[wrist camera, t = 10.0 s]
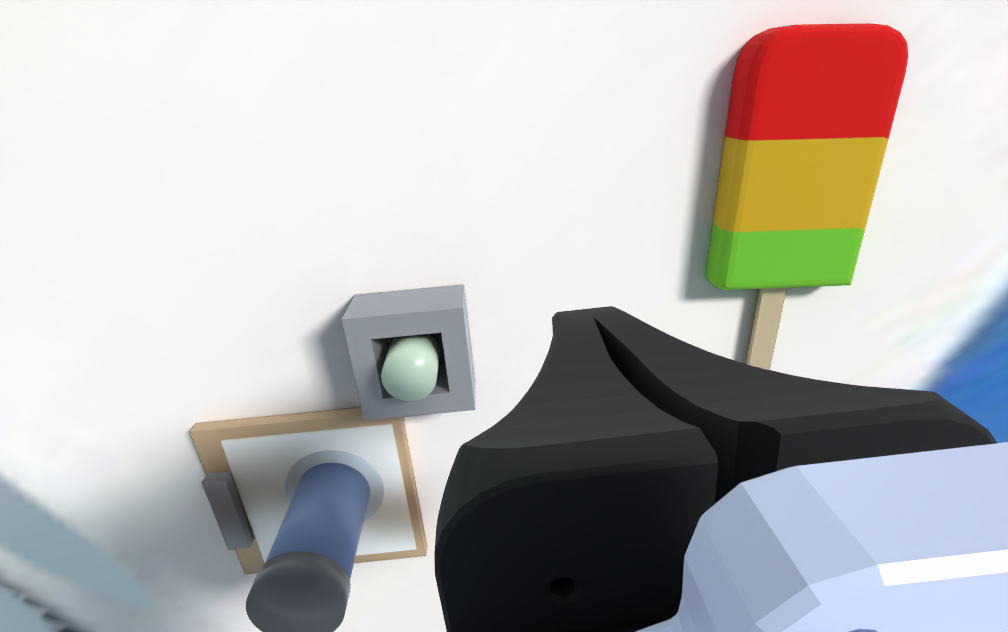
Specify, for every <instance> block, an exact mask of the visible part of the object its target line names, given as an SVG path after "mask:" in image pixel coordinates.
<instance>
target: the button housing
mask: <svg viewBox="0 0 1008 632" xmlns="http://www.w3.org/2000/svg"><path fill="white" fill-rule="evenodd" d="M341 320H342V324H343V329H344V333H345V338H346V342H347V347H348V351H349V356H350V360H351V364H352V369H353V373H354V378H355V382H356V387H357V391H358V396H359V400H360V405H361V409H362V414H363V418H364V420H375V419H385V418H395V417H405V416H416V415H426V414H436V413H447V412H457V411H467V410H475V374H474V366H473V357H472V349H471V341H470V332H469V324H468V315H467V307H466V298H465V290H464V285H454V286H444V287H433V288H422V289H412V290H401V291H390V292H379V293H369V294H358V295H354V297H353V299H352V301H351V303H350V304H349V306H348V308H347V310H346V312H345V314H344V316H343V317H342V319H341ZM431 333H441V334H442V341H443V348H444V355H445V362H446V363H443V364H438V372H437V380H436V385H435V387H434V389H433V391H432V392H431V393H430V394H429V395H428V396H426V397H424V398H422V399H420V400H416V401H404V400H400V399H397V398H395V397H393V396H392V395H391V394H389V393H388V392H387V391H386V389H385V388H384V386H383V384H382V380H381V373H382V369H383V366H384V363H385V359H386V356H387V353H388V347H387V342H386V338H389V337H400V336H410V335H421V334H431Z"/></svg>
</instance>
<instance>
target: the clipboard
mask: <svg viewBox="0 0 1008 632" xmlns="http://www.w3.org/2000/svg"><path fill="white" fill-rule="evenodd" d="M190 434H191V437H192V439H193V442H194V444H195V447H196V449H197V452H198V455H199V457H200V460H201V462H202V465H203V468H204V470H205V473H206V475H207V476H206V478H205V479H204V481H203V482H202V484H203V487H204V489H205V492H206V494H207V497H208V499H209V502H210V504H211V507H212V509H213V512H214V514H215V517H216V520H217V522H218V525H219V527H220V530H221V532H222V535H223V537H224V540H225V542H226V545H227V547H228V550H232V549H235V550H236V553H237V555H238V558H239V560H240V563H241V565H242V568H243V571H244V573H245V574H253V573H258V572H259V570H260V568H261V567H262V566H263V565H264V564H265V562H266V560H267V557H268V555H269V552H270V550H271V548H272V545H273V543H274V541H275V538H276V536H277V533H278V531H279V529H280V526H281V524H282V522H283V519H284V517H285V514H286V512H287V510H288V507H289V505H290V502H291V500H292V498H293V495H294V493H295V491H296V488H297V486H298V483H299V481H300V479H301V477H302V476H303V474H304V473H305V472H306V471H307V470H309V469H310V468H312V467H314V466H316V465H319V464H323V463H341V464H345V465H348V466H350V467H352V468H354V469H356V470H357V471H359V472H360V473H361V474H362V475H363V476H364V477H365V479H366V480H367V482H368V484H369V487H370V497H369V501H368V505H367V510H366V514H365V518H364V522H363V526H362V531H361V535H360V539H359V543H358V548H357V552H356V556H355V560H354V563H361V562H371V561H381V560H391V559H401V558H411V557H421V556H426V554H427V542H426V537H425V532H424V526H423V521H422V516H421V510H420V505H419V500H418V494H417V489H416V484H415V478H414V473H413V468H412V462H411V457H410V452H409V446H408V441H407V436H406V430H405V425H404V420H403V417H395V418H385V419H375V420H364V418H363V414H362V409H361V407H360V408H350V409H339V410H329V411H319V412H308V413H298V414H288V415H277V416H267V417H257V418H246V419H236V420H226V421H215V422H205V423H196V424H195V425H194V427H193V428H192V429H191V430H190Z"/></svg>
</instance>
